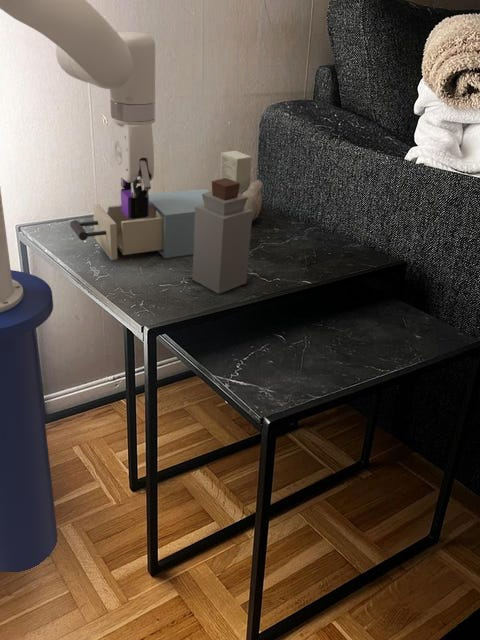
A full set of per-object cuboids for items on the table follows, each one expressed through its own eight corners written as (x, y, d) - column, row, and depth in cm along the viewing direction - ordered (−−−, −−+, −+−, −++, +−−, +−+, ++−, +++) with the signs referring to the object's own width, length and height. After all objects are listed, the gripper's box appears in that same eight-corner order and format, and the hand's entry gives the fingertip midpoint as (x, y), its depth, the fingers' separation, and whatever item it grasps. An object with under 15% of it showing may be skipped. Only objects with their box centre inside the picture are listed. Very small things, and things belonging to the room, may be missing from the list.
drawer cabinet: (164, 258, 115) (165, 215, 110) (143, 235, 123) (142, 194, 119) (228, 249, 121) (231, 207, 116) (204, 228, 129) (206, 188, 125)
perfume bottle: (246, 283, 108) (255, 184, 99) (218, 293, 104) (225, 191, 95) (220, 269, 112) (226, 173, 103) (192, 279, 108) (196, 179, 99)
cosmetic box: (249, 209, 141) (253, 156, 135) (233, 212, 139) (237, 159, 133) (232, 200, 146) (235, 149, 139) (217, 203, 143) (220, 151, 137)
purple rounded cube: (128, 218, 112) (127, 197, 109) (121, 211, 114) (120, 190, 112) (148, 216, 113) (148, 195, 111) (141, 208, 116) (141, 188, 114)
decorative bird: (222, 232, 128) (224, 198, 124) (244, 209, 141) (247, 177, 137) (247, 237, 127) (250, 202, 123) (266, 213, 140) (270, 181, 136)
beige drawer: (83, 263, 108) (81, 227, 105) (68, 241, 116) (66, 207, 112) (175, 251, 116) (176, 217, 112) (155, 231, 123) (155, 198, 120)
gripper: (97, 102, 109) (101, 200, 118) (128, 123, 97) (130, 231, 106) (137, 101, 112) (138, 196, 122) (172, 122, 100) (170, 227, 109)
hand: (134, 212), depth 114 cm, fingers closed on purple rounded cube, 3 cm apart
